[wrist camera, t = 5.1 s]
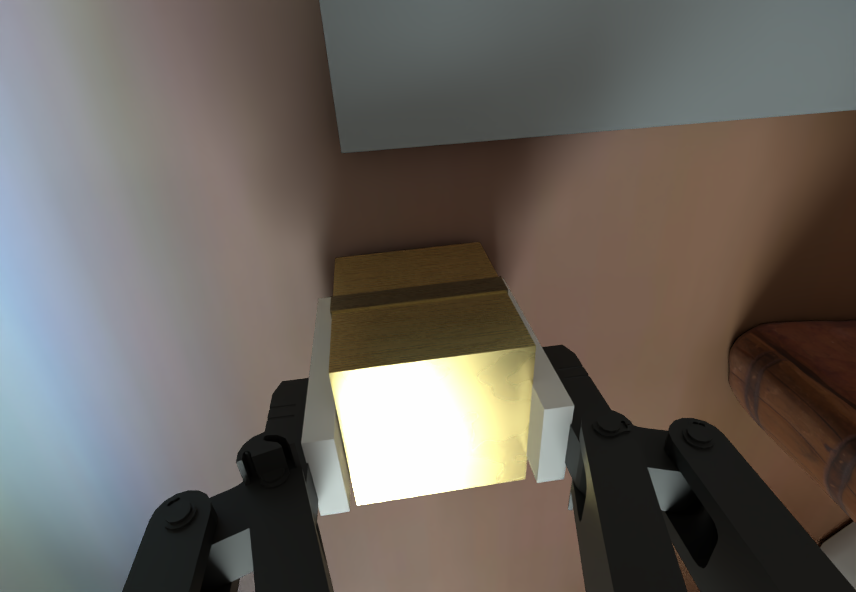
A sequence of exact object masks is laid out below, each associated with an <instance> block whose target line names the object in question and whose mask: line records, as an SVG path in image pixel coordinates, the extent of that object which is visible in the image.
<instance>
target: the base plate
mask: <svg viewBox="0 0 856 592" xmlns="http://www.w3.org/2000/svg"><path fill="white" fill-rule="evenodd" d="M319 2H320V9H321V16H322V23H323V29H324V36H325V43H326V50H327V57H328V64H329V70H330V77H331V84H332V91H333V98H334V105H335V112H336V118H337V125H338V132H339V139H340V146H341V153H350V152H362V151H374V150H385V149H397V148H409V147H421V146H433V145H445V144H457V143H468V142H480V141H492V140H504V139H516V138H528V137H539V136H551V135H563V134H575V133H587V132H599V131H611V130H622V129H634V128H646V127H658V126H670V125H682V124H694V123H705V122H717V121H729V120H741V119H753V118H765V117H777V116H788V115H800V114H812V113H824V112H836V111H848V110H856V0H319Z"/></svg>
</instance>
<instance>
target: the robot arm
mask: <svg viewBox="0 0 856 592" xmlns="http://www.w3.org/2000/svg"><path fill="white" fill-rule="evenodd" d="M502 279H503V278H502ZM503 281H504V283H505V285H506V287H507V288H508V295H509V297H510V299H511V301H512V303H513V304H514V306H515V308H516V310H517V312H518V314H519V315H520V317H521V319H522V321H523V323H524V325H525V326H526V328H527V330H528V332H529V334H530V336H531V338H532V339H533V341H534V343H535V345H536V352H535V365H534V377H533V385H532V395H531V407H530V419H529V431H528V443H527V455H526V456H527V458H528V461H529V463H530V466H531V469H532V471H533V474H534V476H535V479H536V481H537V483H540V482H547V481H553V480H560V479H564V475H565V468H566V466H567V468H568V470H569V473H570V475H571V477H572V485H571V491H570V498H569V505H568V510H572V509H574V516H575V523H576V529H577V536H578V543H579V550H580V556H581V563H582V570H583V576H584V583H585V590H586V592H687V589H686V586H685V583H684V580H683V576H682V573H681V570H680V567H679V564H678V561H677V558H676V555H675V552H674V548H673V545H674V547H675V549H676V550H677V552H678V554H679V555H680V557H681V559H682V561H683V562H684V564H685V566H686V567H687V569H688V571H689V573H690V574H691V576H692V578H693V580H694V581H695V583H696V585H697V586H698V588H699V590H700V592H856V590H855V588H854V587H853V586H852V585H851V584H850V583H849V581H848V580H847V579H846V578H845V577H844V575H843V574H842V573H841V572H840V571H839V570H838V568H837V567H836V566H835V565H834V564H833V563H832V561H831V560H830V559H829V558H828V557H827V555H826V554H825V553H824V552H823V551H822V550H821V548H820V547H819V546H818V545H817V544H816V542H815V541H814V540H813V539H812V538H811V537H810V535H809V534H808V533H807V532H806V531H805V530H804V528H803V527H802V526H801V525H800V524H799V522H798V521H797V520H796V519H795V518H794V517H793V515H792V514H791V513H790V512H789V511H788V509H787V508H786V507H785V506H784V505H783V504H782V502H781V501H780V500H779V499H778V498H777V497H776V495H775V494H774V493H773V492H772V491H771V489H770V488H769V487H768V486H767V485H766V484H765V482H764V481H763V480H762V479H761V478H760V476H759V475H758V474H757V473H756V472H755V471H754V469H753V468H752V467H751V466H750V465H749V464H748V462H747V461H746V460H745V459H744V458H743V456H742V455H741V454H740V453H739V452H738V451H737V449H736V448H735V447H734V446H733V445H732V444H731V442H730V441H729V440H728V439H727V438H726V436H725V435H724V434H723V433H722V432H721V431H719V430H718V429H717V428H716V427H715V426H713V425H711V424H709V423H707V422H705V421H702V420H698V419H694V418H681V419H678V420H675V421H674V422H673V423H672V424H671V425H670V426H669V430H668V431H665V430H656V429H648V428H642V427H637V426H634V425H633V424H632V423H631V421H630V420H628V419H627V418H626V417H625V416H624V415H622V414H620V413H617V412H615V411H612V410H611V409H610V407H609V406H608V404H607V403H606V401H605V400H604V398H603V397H602V395H601V393H600V392H599V390H598V389H597V387H596V386H595V384H594V383H593V381H592V379H591V378H590V377H589V376H588V373H587V372H586V370H585V369H584V367H582V364H581V362H580V361H579V359H578V358H577V356H576V355H575V354H574V353H573V352H572V351H570V350H569V349H568V348H566V347H565V346H563V345H556V346H548V347H541V345H540V343H539V341H538V339H537V338H536V336H535V334H534V332H533V330H532V329H531V327H530V325H529V323H528V321H527V320H526V318H525V316H524V314H523V313H522V311H521V309H520V307H519V305H518V304H517V302H516V300H515V298H514V296H513V295H512V293H511V291H510V289H509V287H508V286H507V284H506V282H505V280H504V279H503ZM330 303H331V297H329V298H320V299H318V307H317V315H316V323H315V332H314V340H313V348H312V357H311V365H310V373H309V378H305V379H297V380H289V381H282V382H281V384H280V385H279V386H278V388H277V389H276V390H275V392H274V393H273V395H272V399H271V404H270V410H269V414H268V421H267V423H266V428H265V432H263V433H261V434H259V435H257V436H254V437H252V438H251V439H250V440H249V441H247V442H246V443H245V444H244V445H243V446H242V448H241V449H240V451H239V452H238V455H237V460H236V463H237V465H238V468H239V471H240V473H241V476H242V478H243V482H242V483H241V484H239V485H238V486H236V487H234V488H232V489H230V490H228V491H225V492H223V493H220V494H218V495H216V496H213V497H211V498H209V497H208V496H207V494H205V493H203V492H201V491H185V492H182V493H178V494H176V495H174V496H172V497H171V498H169V499H167V500H166V501H164V502H163V503H162V504H161V505H160V506H159V507H158V508H157V509H156V510H155V512H154V513H153V515H152V517H151V519H150V520H149V523H148V525H147V528H146V531H145V533H144V536H143V538H142V541H141V544H140V546H139V549H138V552H137V554H136V557H135V559H134V562H133V565H132V567H131V570H130V573H129V575H128V578H127V580H126V583H125V586H124V588H123V591H122V592H237V591H238V586H239V580H240V578H241V577H243V576H245V575H247V574H249V573H251V572H253V571H254V582H255V592H334V591H333V586H332V582H331V578H330V573H329V569H328V565H327V560H326V556H325V552H324V548H323V543H322V539H321V535H320V531H319V527H318V523H317V513H318V507H319V511H320V514H321V516H323V515H330V514H336V513H343V512H350V471H349V466H348V461H347V457H346V452H345V448H344V443H343V438H342V434H341V429H340V424H339V420H338V415H337V410H336V406H335V401H334V396H333V392H332V387H331V382H330V378H329V356H330V339H331V322H332V319H331V314H330ZM672 543H673V545H672Z"/></svg>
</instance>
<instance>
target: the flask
mask: <svg viewBox="0 0 856 592" xmlns="http://www.w3.org/2000/svg"><path fill="white" fill-rule="evenodd" d="M820 548H821V550H822V551H823V552H824V553H825V554H826V555H827V557H828V558H829V559H830V560H831V561H832V563H833V564H834V565H835V566H836V567H837V568H838V570H839V571H840V572H841V573H842V574H843V575H844V577H845V578H846V579H847V580H848V581H849V583H850V584H851V585H852V586H853V587H854V588H855V590H856V523H855V522H854V521H853V522H852V523H851V524H849V525H848V526H846V527H845V528H844V529H842V530H841V531H839V532H838V533H837V534H835V535H834V536H832V537H831V538H829V539H828V540H827V541H825V542H824V543H822V545H821V547H820Z"/></svg>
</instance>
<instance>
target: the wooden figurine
mask: <svg viewBox="0 0 856 592" xmlns="http://www.w3.org/2000/svg"><path fill="white" fill-rule="evenodd" d="M729 366H730V370H729V384H730V387H731V389H732V390H733V392H734V394H735V396H736V398H737V400H738V401H739V403H740V404H741V405H742V407H743V408H744V409H745V410H746V411H747V412H748V414H749V415H750V416H751V417H752V418H753V420H755V421H756V423H757V424H758V425H759V426H760V427H761V428H762V429H763V430H764V431H765V432H766V433H767V434H768V435H769V436H770V437H771V438H772V439H773V440H774V441H775V442H776V444H777V445H778V446H779V447H780V448H781V449H782V450H783V451H784V452H785V453H786V454H787V455H788V456H789V457H790V458H791V459H792V460H794V461H795V462H796V463H797V464H798V465H799V466H800V467H801V468H802V469H803V470H804V471H805V472H806V473H807V474H808V475H809V476H810V477H811V478H812V479H813V480H814V481H815V482H816V483H817V484H818V485H819V486H820V487H821V488H822V489H823V490H824V491H825V492H826V493H827V494H828V495H829V496H830V497H831V498H832V499H833V500H834V501H835V502H836V503H837V504H838V505H839V506H840V508H841V509H842V510H843V511H844V512H845V513H846V514H847V515H848V516H849V517H850V518H851V519H852V520H853V521H854V522H855V523H856V320H849V321H799V322H780V323H765V324H761V325H758V326H756V327H754V328H753V329H751V330H750V331H748V332H745V333H744V334H743V335H741V336H740V337H739V338H738V339H737V340H736V341H735V343H734V345H733V346H732V348H731V350H730V354H729Z"/></svg>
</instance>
